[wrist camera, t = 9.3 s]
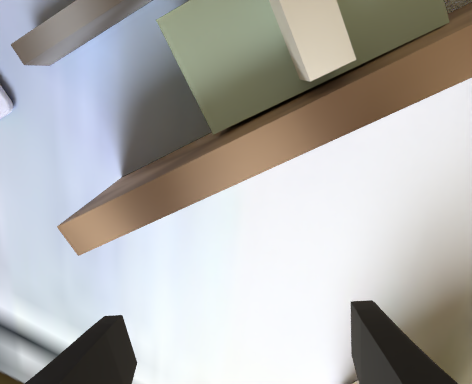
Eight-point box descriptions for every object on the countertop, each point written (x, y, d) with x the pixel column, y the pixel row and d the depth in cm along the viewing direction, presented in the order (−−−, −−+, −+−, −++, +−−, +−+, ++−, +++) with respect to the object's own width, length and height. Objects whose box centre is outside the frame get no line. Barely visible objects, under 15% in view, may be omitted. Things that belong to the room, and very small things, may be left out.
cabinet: (223, 121, 18) (201, 150, 11) (179, 31, 16) (126, 5, 10) (404, 34, 16) (506, 6, 9) (373, -78, 14) (467, -204, 8)
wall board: (134, 199, 20) (78, 255, 14) (38, 47, 17) (-87, 34, 11) (574, -12, 14) (802, -73, 8) (535, -280, 12) (827, -653, 6)
